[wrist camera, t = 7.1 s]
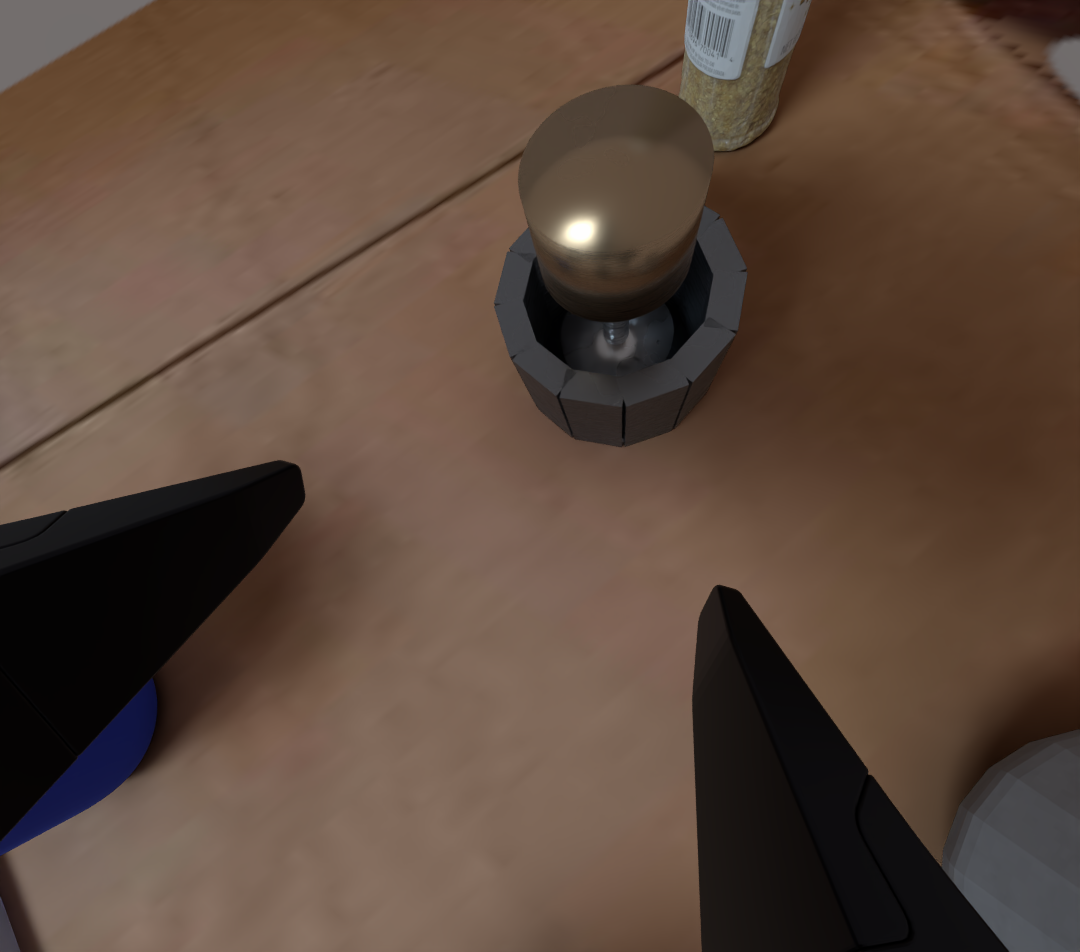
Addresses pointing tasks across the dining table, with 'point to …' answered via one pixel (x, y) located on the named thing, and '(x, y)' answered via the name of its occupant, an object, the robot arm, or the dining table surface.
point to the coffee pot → (1023, 846)
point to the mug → (93, 770)
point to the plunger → (616, 219)
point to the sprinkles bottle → (738, 63)
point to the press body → (645, 395)
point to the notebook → (6, 932)
